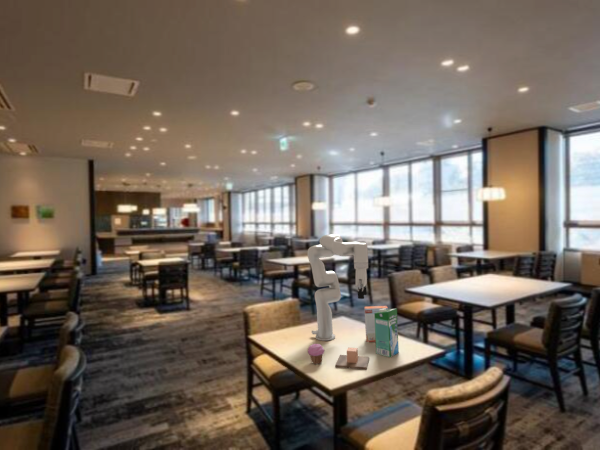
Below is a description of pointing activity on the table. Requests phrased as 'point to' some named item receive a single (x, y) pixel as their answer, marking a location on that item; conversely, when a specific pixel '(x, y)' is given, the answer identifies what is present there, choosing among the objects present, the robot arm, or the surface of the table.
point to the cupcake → (316, 353)
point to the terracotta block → (352, 355)
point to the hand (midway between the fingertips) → (362, 296)
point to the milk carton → (386, 332)
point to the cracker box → (371, 321)
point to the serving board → (360, 364)
